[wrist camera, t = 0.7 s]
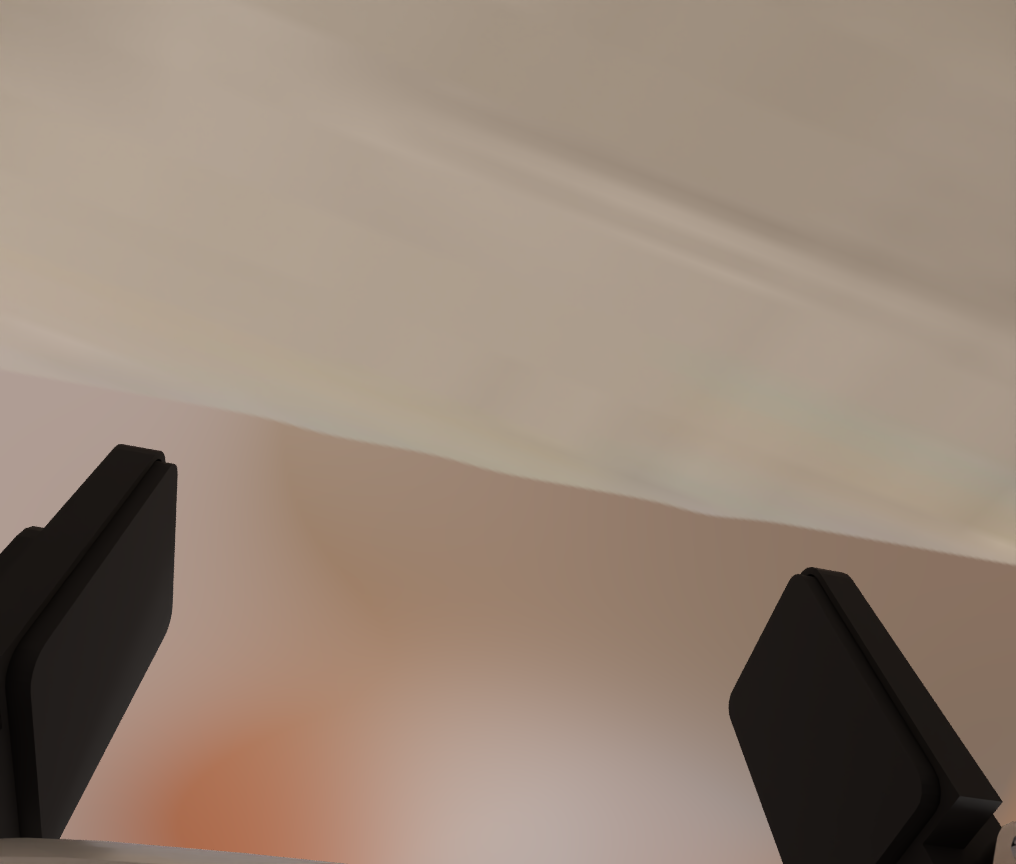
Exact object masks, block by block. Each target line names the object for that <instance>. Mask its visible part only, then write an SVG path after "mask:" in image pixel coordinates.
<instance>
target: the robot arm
mask: <svg viewBox="0 0 1016 864" xmlns="http://www.w3.org/2000/svg"><path fill="white" fill-rule="evenodd" d="M176 501H177V466H176V465H175V464H172V463H166V462H165V456H164V453H163V452H162V451H157V450H152V449H146V448H141V447H135V446H130V445H124V444H118V445H117V446H116V447H115V448H114V449H113V450H112V451H111V452H110V453H109V454H108V456H107V457H106V458H105V459H104V460H103V461H102V462H101V464H100V465H99V466H98V467H97V468H96V469H95V470H94V471H93V473H92V474H91V475H90V476H89V477H88V478H87V479H86V481H85V482H84V483H83V484H82V485H81V486H80V487H79V489H78V490H77V491H76V492H75V493H74V494H73V495H72V497H71V498H70V499H69V500H68V501H67V502H66V503H65V505H64V506H63V507H62V508H61V509H60V510H59V512H58V513H57V514H56V515H55V516H54V517H53V518H52V520H51V521H50V522H49V523H48V524H47V525H46V526H45V528H41V527H35V526H32V527H29V528H26V529H24V530H23V531H22V532H21V533H19V534H18V535H17V536H16V537H15V538H14V539H13V541H12V542H11V543H10V544H9V545H8V546H7V547H6V548H5V549H4V550H3V551H2V553H1V554H0V864H343V863H334V862H324V861H314V860H304V859H295V858H285V857H275V856H266V855H256V854H247V853H236V852H225V851H224V852H223V851H213V850H201V849H190V848H178V847H167V846H155V845H144V844H132V843H120V842H109V841H92V840H66V839H60V837H61V835H62V833H63V831H64V829H65V827H66V825H67V823H68V821H69V819H70V817H71V816H72V814H73V812H74V810H75V808H76V806H77V804H78V802H79V800H80V798H81V796H82V794H83V792H84V791H85V788H86V787H87V785H88V783H89V781H90V779H91V777H92V775H93V773H94V771H95V769H96V767H97V765H98V764H99V762H100V760H101V758H102V756H103V754H104V752H105V750H106V748H107V746H108V744H109V742H110V740H111V739H112V737H113V734H114V733H115V731H116V729H117V727H118V725H119V723H120V721H121V719H122V717H123V715H124V714H125V712H126V710H127V708H128V706H129V704H130V702H131V700H132V698H133V696H134V694H135V692H136V690H137V688H138V687H139V684H140V683H141V681H142V679H143V677H144V675H145V673H146V671H147V669H148V667H149V665H150V663H151V661H152V659H153V658H154V656H155V654H156V652H157V650H158V648H159V646H160V644H161V642H162V640H163V638H164V636H165V634H166V632H167V629H168V626H169V623H170V619H171V614H172V604H173V578H174V552H175V551H174V550H175V527H176ZM729 715H730V719H731V721H732V724H733V727H734V730H735V732H736V736H737V738H738V741H739V743H740V746H741V749H742V752H743V755H744V757H745V760H746V763H747V766H748V768H749V771H750V774H751V777H752V779H753V782H754V785H755V788H756V791H757V793H758V796H759V799H760V802H761V804H762V807H763V810H764V812H765V815H766V818H767V821H768V823H769V826H770V829H771V831H772V834H773V837H774V840H775V843H776V845H777V848H778V851H779V853H780V856H781V859H782V862H783V864H1016V822H1011V823H1009V824H1006V825H1004V826H1002V827H1001V826H1000V824H999V823H998V821H997V820H996V818H995V817H994V815H993V813H994V812H995V811H996V809H997V808H998V807H999V806H1000V805H1001V803H1002V800H1001V799H1000V797H999V796H998V794H997V793H996V791H995V790H994V789H993V787H992V785H991V784H990V783H989V781H988V779H987V778H986V776H985V775H984V774H983V772H982V771H981V769H980V768H979V766H978V765H977V763H976V762H975V760H974V759H973V757H972V756H971V754H970V753H969V751H968V750H967V749H966V747H965V746H964V744H963V743H962V741H961V740H960V738H959V737H958V735H957V734H956V732H955V731H954V729H953V728H952V726H951V725H950V723H949V722H948V720H947V719H946V717H945V716H944V715H943V713H942V712H941V710H940V709H939V707H938V706H937V704H936V703H935V701H934V700H933V698H932V697H931V695H930V694H929V692H928V691H927V689H926V688H925V687H924V685H923V683H922V682H921V681H920V679H919V678H918V676H917V675H916V673H915V672H914V671H913V669H912V667H911V666H910V664H909V663H908V661H907V660H906V658H905V657H904V655H903V654H902V652H901V651H900V650H899V648H898V647H897V645H896V644H895V642H894V641H893V639H892V638H891V636H890V635H889V633H888V632H887V630H886V629H885V627H884V626H883V624H882V623H881V622H880V620H879V619H878V617H877V616H876V614H875V613H874V611H873V610H872V608H871V607H870V605H869V604H868V602H867V601H866V600H865V598H864V596H863V595H862V593H861V592H860V590H859V589H858V587H857V586H856V585H855V583H854V582H853V580H852V579H851V578H850V577H849V576H848V575H847V574H845V573H842V572H836V571H831V570H825V569H819V568H814V567H810V568H807V569H805V570H804V571H803V572H802V573H801V574H797V575H794V576H793V577H792V578H791V579H790V581H789V582H788V584H787V586H786V588H785V590H784V592H783V594H782V596H781V598H780V600H779V602H778V603H777V605H776V607H775V609H774V611H773V613H772V615H771V617H770V619H769V621H768V623H767V625H766V627H765V629H764V631H763V633H762V634H761V636H760V638H759V641H758V642H757V644H756V646H755V648H754V650H753V652H752V654H751V656H750V658H749V660H748V662H747V664H746V665H745V668H744V669H743V671H742V673H741V675H740V677H739V679H738V681H737V683H736V685H735V687H734V689H733V691H732V693H731V696H730V700H729Z"/></svg>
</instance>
